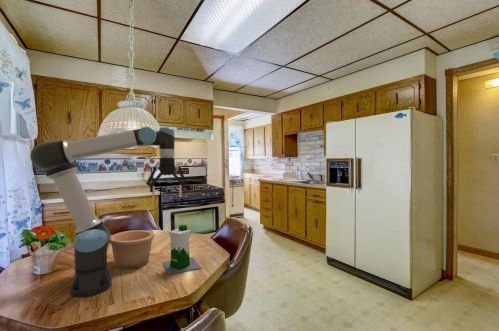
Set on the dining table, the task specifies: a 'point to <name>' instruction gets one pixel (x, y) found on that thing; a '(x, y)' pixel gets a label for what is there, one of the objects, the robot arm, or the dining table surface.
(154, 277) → the dining table surface
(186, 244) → the soya milk
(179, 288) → the dining table surface
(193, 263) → the mat
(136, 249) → the pottery
